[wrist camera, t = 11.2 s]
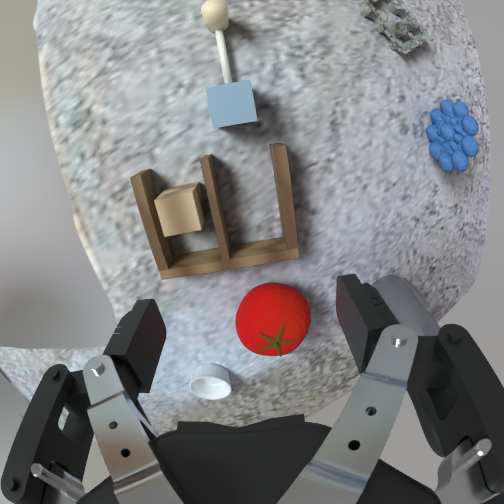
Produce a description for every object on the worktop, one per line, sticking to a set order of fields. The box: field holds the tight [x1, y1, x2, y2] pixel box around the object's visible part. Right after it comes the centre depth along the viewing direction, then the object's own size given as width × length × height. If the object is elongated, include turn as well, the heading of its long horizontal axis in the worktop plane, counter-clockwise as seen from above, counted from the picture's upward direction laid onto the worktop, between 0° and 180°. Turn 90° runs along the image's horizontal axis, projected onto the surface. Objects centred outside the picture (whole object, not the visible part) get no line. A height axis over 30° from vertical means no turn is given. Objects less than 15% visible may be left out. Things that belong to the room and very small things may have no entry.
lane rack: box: [130, 143, 299, 280], centre depth 37 cm, size 20×16×4 cm
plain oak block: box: [154, 182, 207, 237], centre depth 36 cm, size 5×5×6 cm
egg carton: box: [359, 0, 430, 54], centre depth 24 cm, size 11×8×4 cm
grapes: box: [426, 99, 478, 172], centre depth 29 cm, size 12×7×12 cm, turn 169°
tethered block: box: [201, 0, 258, 128], centre depth 27 cm, size 5×17×6 cm, turn 9°
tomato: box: [235, 283, 311, 357], centre depth 42 cm, size 11×12×10 cm
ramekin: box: [189, 364, 231, 400], centre depth 54 cm, size 9×9×4 cm
